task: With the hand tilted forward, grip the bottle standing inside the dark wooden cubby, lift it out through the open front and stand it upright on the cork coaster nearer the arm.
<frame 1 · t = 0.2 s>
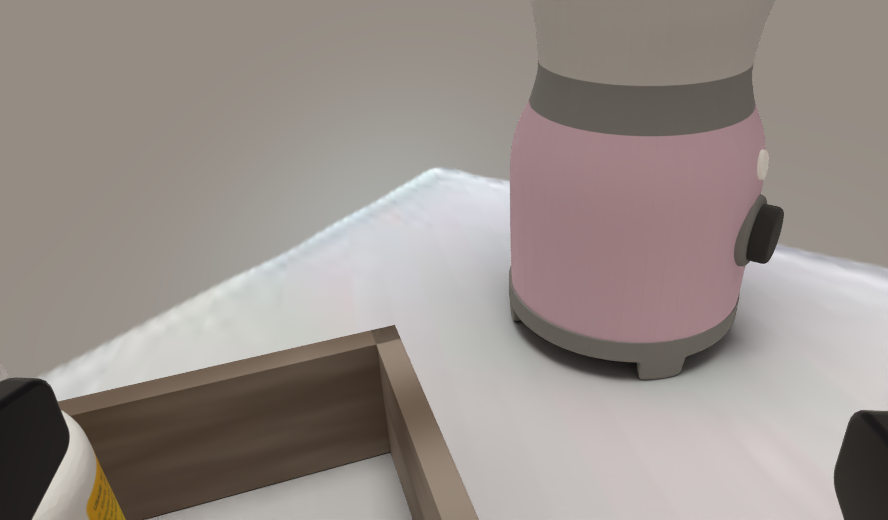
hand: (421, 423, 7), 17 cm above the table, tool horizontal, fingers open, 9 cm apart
blender: (643, 322, 37), on the table
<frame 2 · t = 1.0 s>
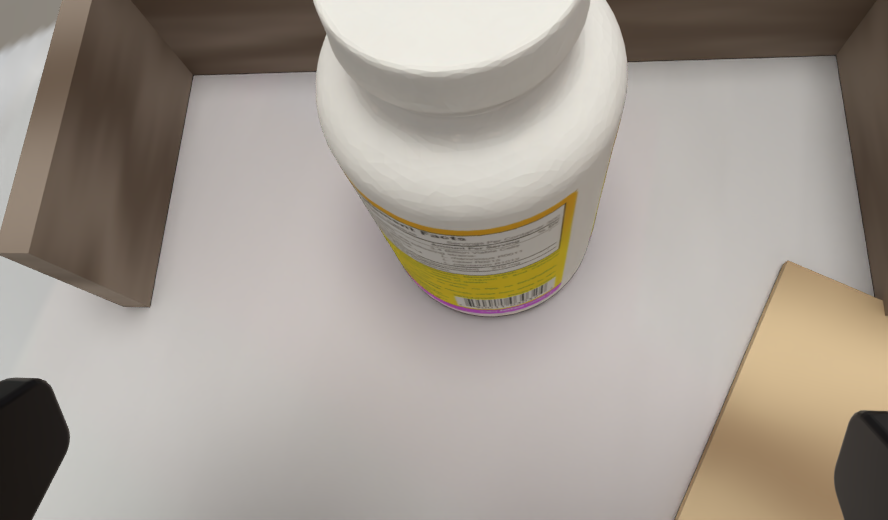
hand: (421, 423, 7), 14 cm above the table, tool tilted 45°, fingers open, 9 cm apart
supplement bottle: (491, 230, 23), on the table
cubby: (490, 227, 23), on the table
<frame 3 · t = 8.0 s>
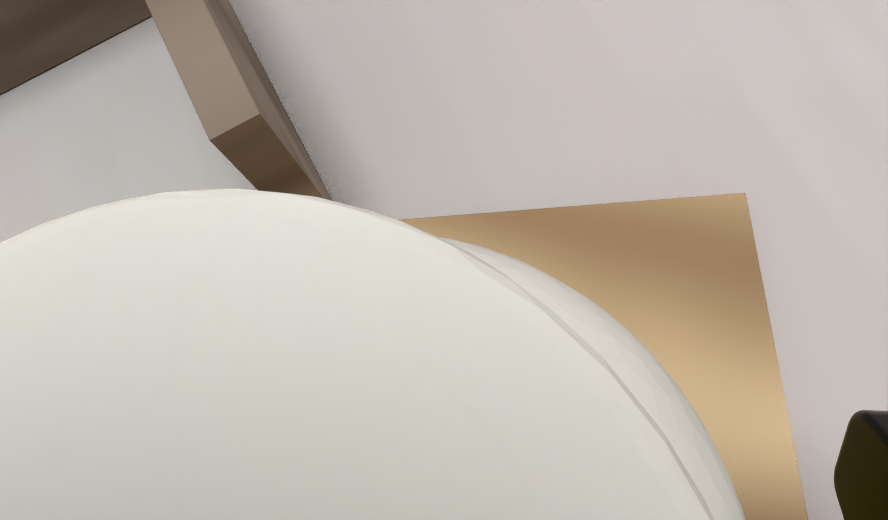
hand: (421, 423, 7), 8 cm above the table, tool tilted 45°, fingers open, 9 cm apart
coaster: (473, 508, 15), on the table
supplement bottle: (463, 513, 15), resting on coaster
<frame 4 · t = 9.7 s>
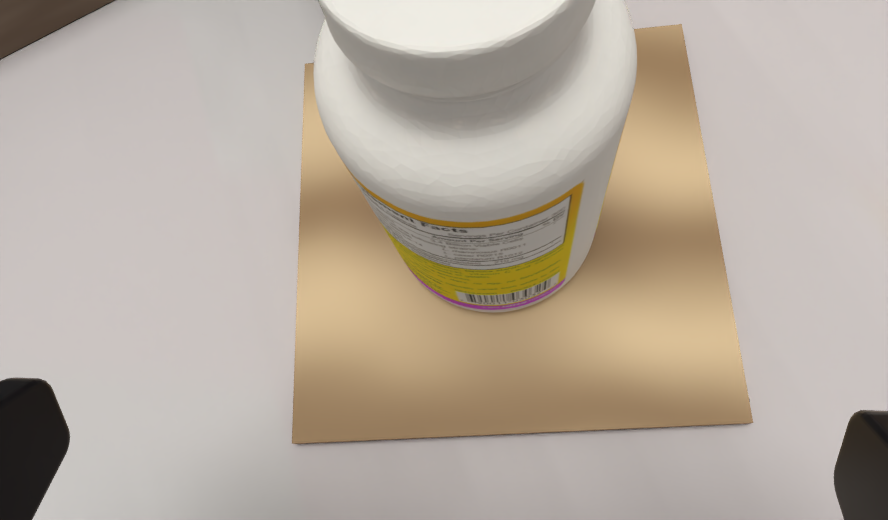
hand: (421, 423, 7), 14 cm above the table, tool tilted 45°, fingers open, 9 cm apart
coaster: (500, 224, 23), on the table
supplement bottle: (493, 224, 22), resting on coaster
cubby: (80, 159, 25), on the table
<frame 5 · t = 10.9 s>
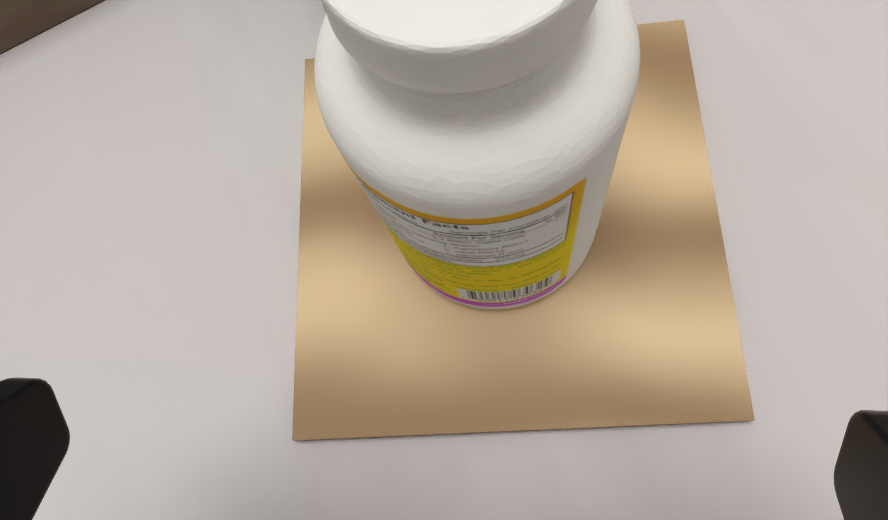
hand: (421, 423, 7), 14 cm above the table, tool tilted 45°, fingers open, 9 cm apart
coaster: (501, 220, 22), on the table
supplement bottle: (494, 221, 22), resting on coaster
cubby: (80, 155, 25), on the table
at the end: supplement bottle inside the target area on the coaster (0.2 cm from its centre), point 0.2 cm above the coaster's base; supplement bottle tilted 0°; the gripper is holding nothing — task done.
